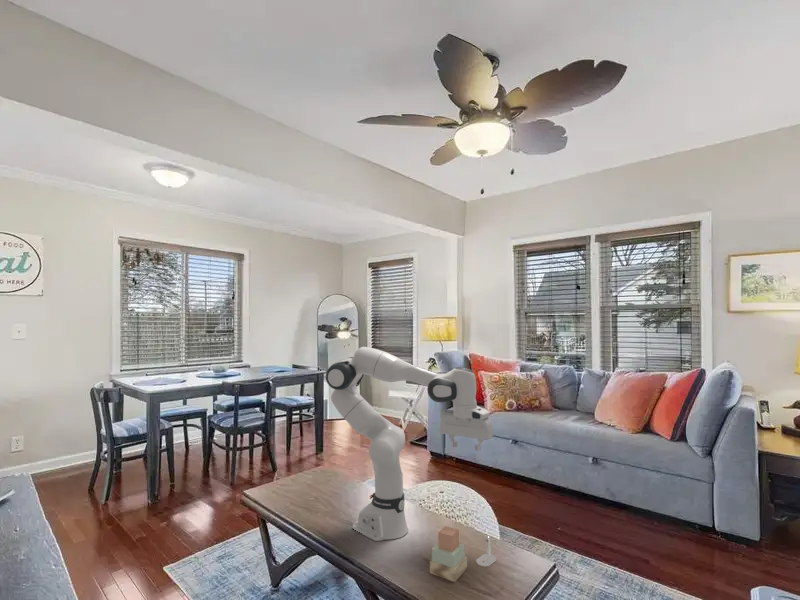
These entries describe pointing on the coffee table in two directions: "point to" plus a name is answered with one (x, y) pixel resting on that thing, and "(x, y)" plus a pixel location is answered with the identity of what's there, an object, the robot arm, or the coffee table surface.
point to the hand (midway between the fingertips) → (466, 448)
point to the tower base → (448, 570)
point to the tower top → (448, 555)
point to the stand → (486, 555)
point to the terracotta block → (448, 538)
